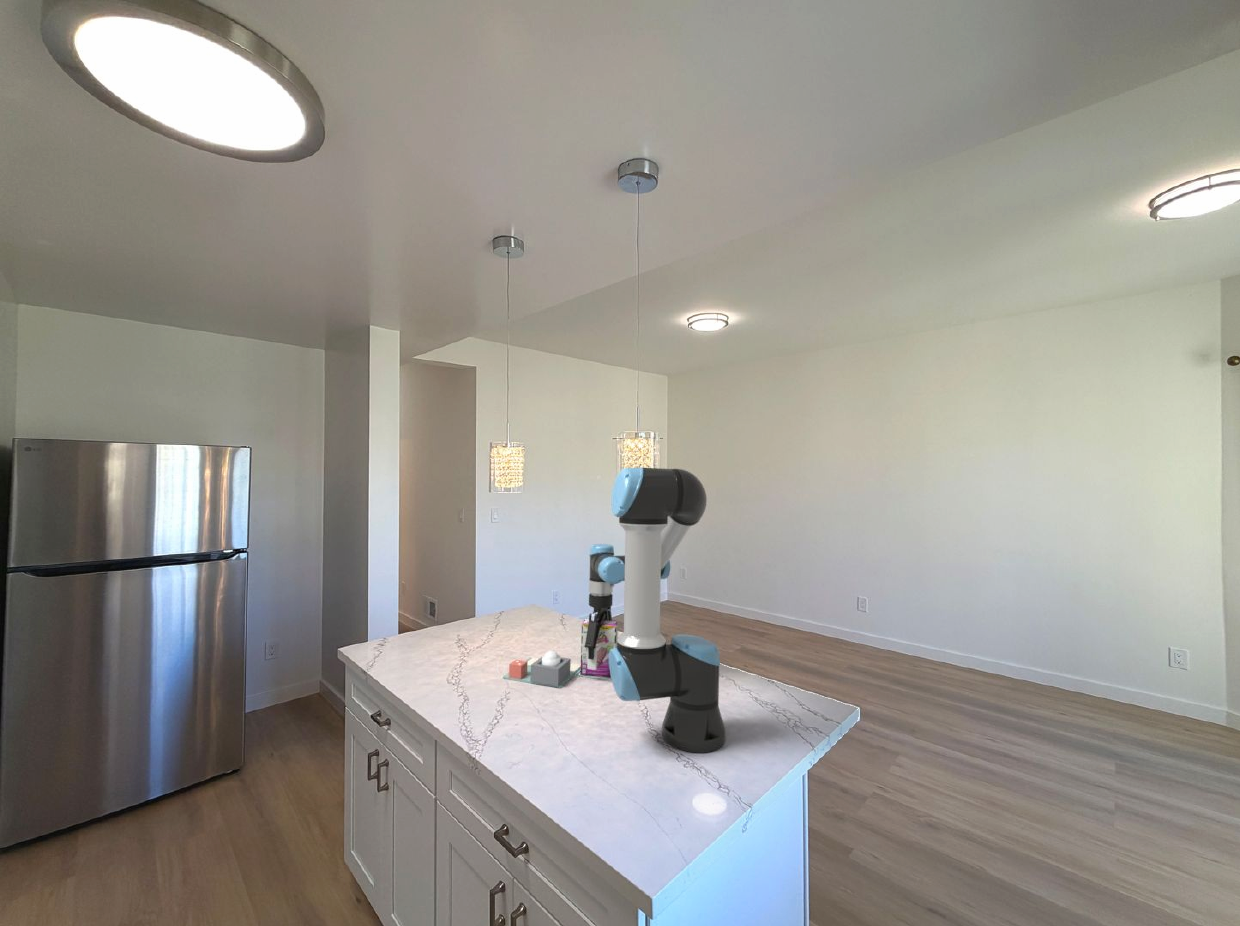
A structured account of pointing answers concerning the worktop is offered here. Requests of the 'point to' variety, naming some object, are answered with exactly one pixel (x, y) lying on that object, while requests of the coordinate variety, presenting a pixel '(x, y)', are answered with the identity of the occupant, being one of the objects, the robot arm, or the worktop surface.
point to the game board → (542, 672)
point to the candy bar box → (599, 648)
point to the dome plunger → (551, 659)
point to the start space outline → (589, 676)
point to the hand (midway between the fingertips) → (599, 661)
